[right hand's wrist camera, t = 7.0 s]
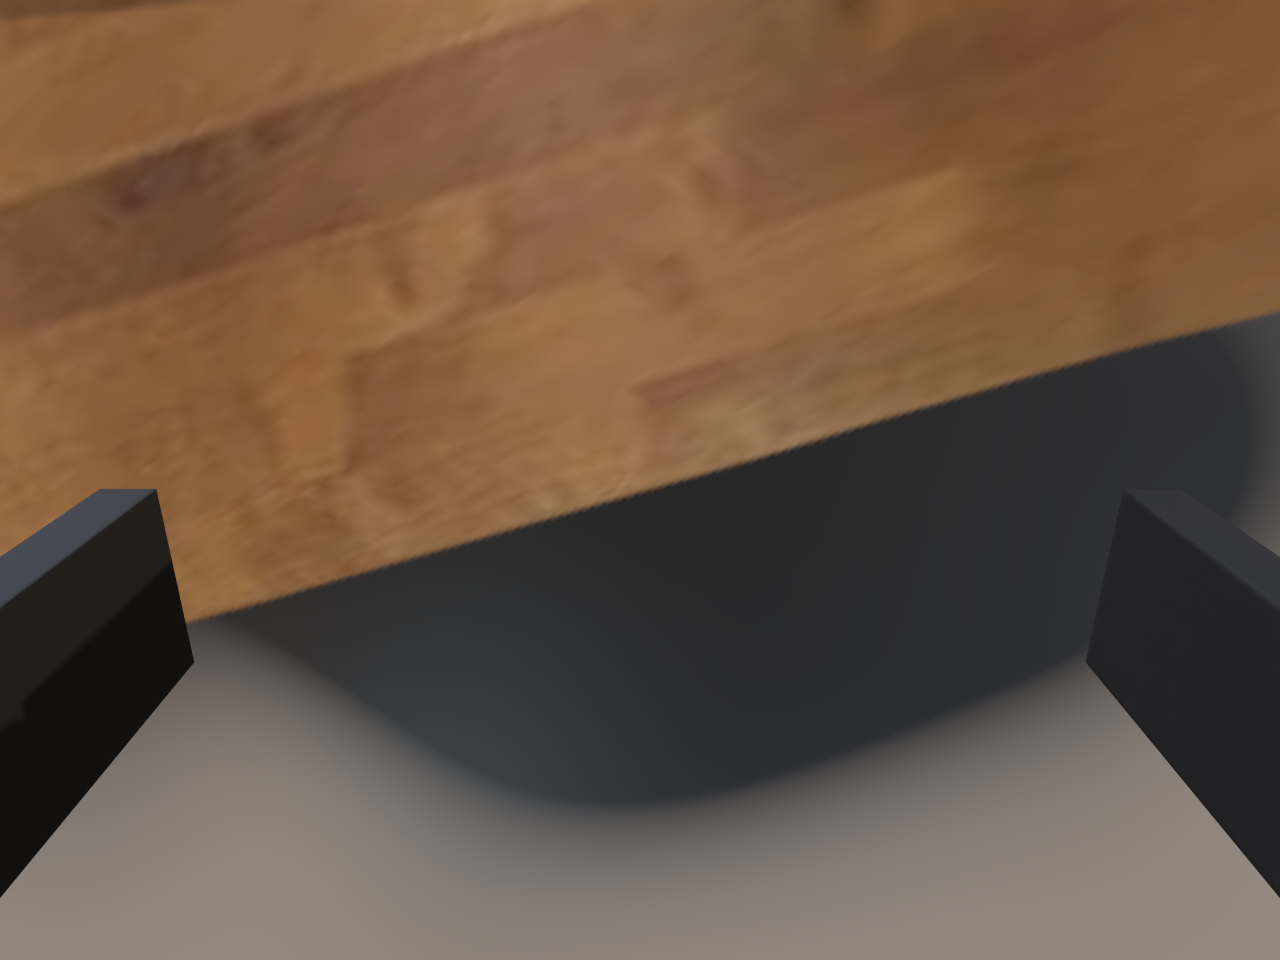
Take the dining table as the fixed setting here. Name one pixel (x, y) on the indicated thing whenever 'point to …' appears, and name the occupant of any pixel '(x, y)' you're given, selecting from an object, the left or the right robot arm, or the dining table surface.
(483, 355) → the dining table surface
